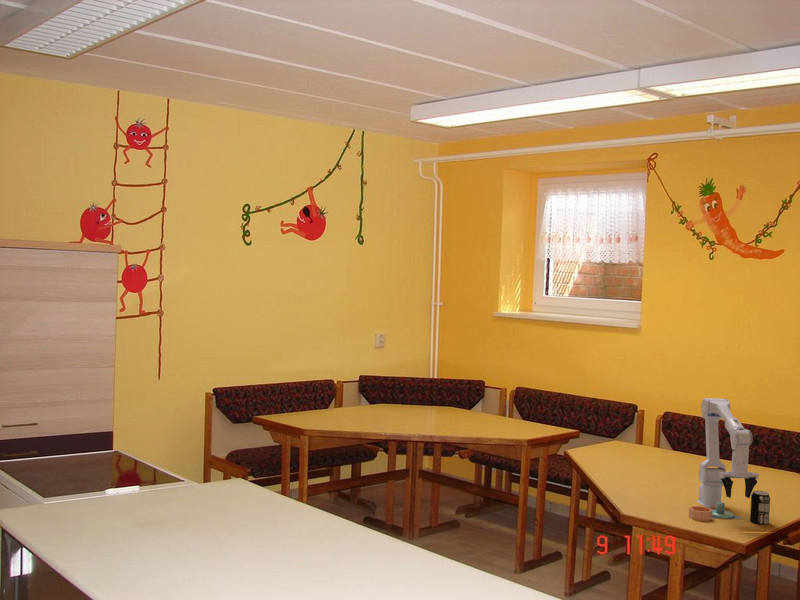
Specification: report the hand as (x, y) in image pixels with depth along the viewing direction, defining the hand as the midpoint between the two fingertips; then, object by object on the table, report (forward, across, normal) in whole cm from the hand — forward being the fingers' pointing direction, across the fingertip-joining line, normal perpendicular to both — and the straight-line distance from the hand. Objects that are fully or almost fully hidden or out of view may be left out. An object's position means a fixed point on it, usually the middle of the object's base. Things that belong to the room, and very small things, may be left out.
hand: (737, 497), depth 311 cm
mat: (+10, -2, +9) cm, 14 cm away
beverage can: (+10, +8, -1) cm, 13 cm away
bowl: (+10, -12, +4) cm, 16 cm away
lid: (+9, -2, +8) cm, 12 cm away
